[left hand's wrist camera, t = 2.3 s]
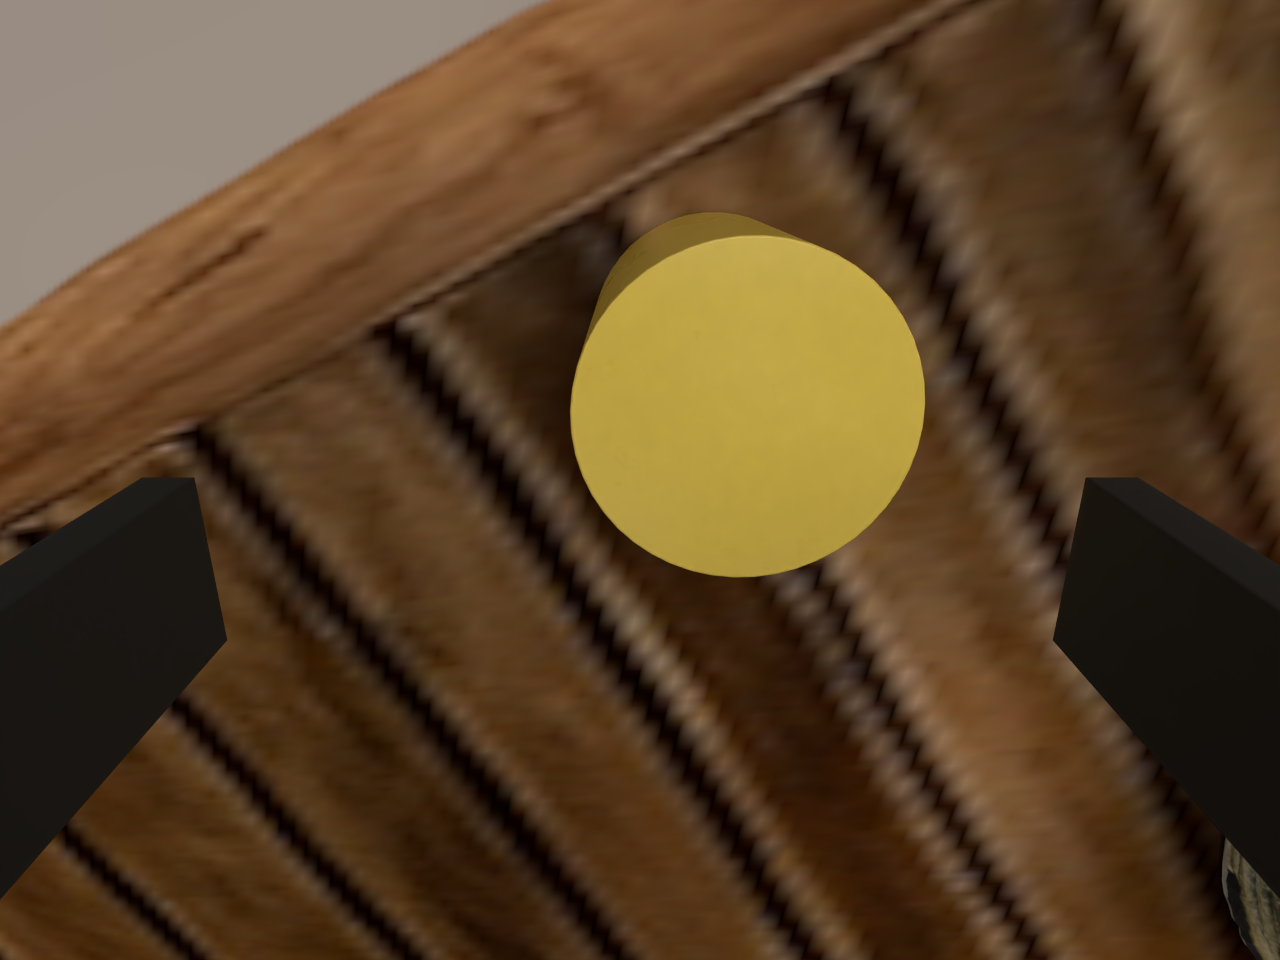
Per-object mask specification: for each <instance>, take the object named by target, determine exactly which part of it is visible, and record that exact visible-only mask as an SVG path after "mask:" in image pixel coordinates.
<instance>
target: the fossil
mask: <svg viewBox="0 0 1280 960" xmlns="http://www.w3.org/2000/svg"><path fill="white" fill-rule="evenodd" d="M1222 884H1223V891H1224V895H1225V897H1226V900H1227V902H1228V904H1229V908H1230V912H1231V916H1232V918H1233V919H1234V921H1235V922H1236V924H1237V925H1238V926H1239V933H1240V936H1241V938H1242V940H1243V942H1244V943H1245V945H1246V946H1247V947H1248V949H1249V950H1250V951H1251V953H1252V954H1253V955H1254V957H1255V958H1256V960H1280V899H1279V898H1278V897H1277V896H1276V894H1275V893H1274V892H1273V891H1272V890H1271V889H1270V888H1269V886H1268V885H1267V884H1266V883H1265V882H1264V881H1263V880H1262V878H1261V877H1260V876H1259V875H1258V874H1257V873H1256V872H1255V870H1254V869H1253V868H1252V867H1251V866H1250V865H1249V864H1248V862H1247V861H1246V860H1245V859H1244V858H1243V857H1242V856H1241V854H1240V853H1239V852H1238V851H1237V850H1236V849H1235V848H1234V846H1233V845H1232V844H1231V843H1230V842H1229V841H1228V840H1227V838H1226V839H1225V846H1224V854H1223V862H1222Z"/></svg>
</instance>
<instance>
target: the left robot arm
mask: <svg viewBox="0 0 1280 960" xmlns="http://www.w3.org/2000/svg"><path fill="white" fill-rule="evenodd" d="M226 641H227V637H226V632H225V627H224V622H223V617H222V612H221V608H220V603H219V598H218V593H217V588H216V583H215V578H214V573H213V568H212V563H211V558H210V553H209V548H208V543H207V538H206V533H205V528H204V523H203V519H202V514H201V509H200V504H199V499H198V494H197V489H196V484H195V479H194V478H141V479H139V480H138V481H136V482H134V483H133V484H131V485H130V486H128V487H126V488H125V489H123V490H122V491H120V492H118V493H117V494H115V495H113V496H112V497H110V498H109V499H107V500H105V501H104V502H102V503H101V504H99V505H97V506H96V507H94V508H93V509H91V510H89V511H88V512H86V513H84V514H83V515H81V516H80V517H78V518H76V519H75V520H73V521H72V522H70V523H68V524H67V525H65V526H64V527H62V528H60V529H59V530H57V531H55V532H54V533H52V534H51V535H49V536H47V537H46V538H44V539H43V540H41V541H39V542H38V543H36V544H35V545H33V546H31V547H30V548H28V549H26V550H25V551H23V552H22V553H20V554H18V555H17V556H15V557H14V558H12V559H10V560H9V561H7V562H6V563H4V564H2V565H1V566H0V899H1V898H2V897H3V896H4V894H5V893H6V892H7V891H8V890H9V889H10V888H11V886H12V885H13V884H14V883H15V882H16V881H17V880H18V878H19V877H20V876H21V875H22V874H23V873H24V872H25V870H26V869H27V868H28V867H29V866H30V865H31V864H32V862H33V861H34V860H35V859H36V858H37V857H38V856H39V854H40V853H41V852H42V851H43V850H44V849H45V848H46V846H47V845H48V844H49V843H50V842H51V841H52V840H53V838H54V837H55V836H56V835H57V834H58V833H59V832H60V830H61V829H62V828H63V827H64V826H65V825H66V824H67V822H68V821H69V820H70V819H71V818H72V817H73V816H74V814H75V813H76V812H77V811H78V810H79V809H80V808H81V806H82V805H83V804H84V803H85V802H86V801H87V800H88V798H89V797H90V796H91V795H92V794H93V793H94V792H95V790H96V789H97V788H98V787H99V786H100V785H101V784H102V782H103V781H104V780H105V779H106V778H107V777H108V776H109V774H110V773H111V772H112V771H113V770H114V769H115V768H116V767H117V765H118V764H119V763H120V762H121V761H122V760H123V759H124V757H125V756H126V755H127V754H128V753H129V752H130V751H131V749H132V748H133V747H134V746H135V745H136V744H137V743H138V741H139V740H140V739H141V738H142V737H143V736H144V735H145V733H146V732H147V731H148V730H149V729H150V728H151V727H152V725H153V724H154V723H155V722H156V721H157V720H158V719H159V717H160V716H161V715H162V714H163V713H164V712H165V711H166V709H167V708H168V707H169V706H170V705H171V704H172V703H173V701H174V700H175V699H176V698H177V697H178V696H179V695H180V693H181V692H182V691H183V690H184V689H185V688H186V687H187V685H188V684H189V683H190V682H191V681H192V680H193V679H194V677H195V676H196V675H197V674H198V673H199V672H200V671H201V669H202V668H203V667H204V666H205V665H206V664H207V663H208V661H209V660H210V659H211V658H212V657H213V656H214V655H215V653H216V652H217V651H218V650H219V649H220V648H221V647H222V645H223V644H224V643H225V642H226ZM1053 641H1054V642H1055V643H1056V644H1057V645H1058V647H1059V648H1060V649H1061V650H1062V651H1063V652H1064V653H1065V655H1066V656H1067V657H1068V658H1069V659H1070V660H1071V661H1072V663H1073V664H1074V665H1075V666H1076V667H1077V668H1078V669H1079V671H1080V672H1081V673H1082V674H1083V675H1084V676H1085V677H1086V679H1087V680H1088V681H1089V682H1090V683H1091V684H1092V685H1093V687H1094V688H1095V689H1096V690H1097V691H1098V692H1099V693H1100V695H1101V696H1102V697H1103V698H1104V699H1105V700H1106V701H1107V703H1108V704H1109V705H1110V706H1111V707H1112V708H1113V709H1114V711H1115V712H1116V713H1117V714H1118V715H1119V716H1120V717H1121V719H1122V720H1123V721H1124V722H1125V723H1126V724H1127V725H1128V727H1129V728H1130V729H1131V730H1132V731H1133V732H1134V733H1135V735H1136V736H1137V737H1138V738H1139V739H1140V740H1141V741H1142V743H1143V744H1144V745H1145V746H1146V747H1147V748H1148V749H1149V751H1150V752H1151V753H1152V754H1153V755H1154V756H1155V757H1156V759H1157V760H1158V761H1159V762H1160V763H1161V764H1162V765H1163V767H1164V768H1165V769H1166V770H1167V771H1168V772H1169V773H1170V774H1171V776H1172V777H1173V778H1174V779H1175V780H1176V781H1177V782H1178V784H1179V785H1180V786H1181V787H1182V788H1183V789H1184V790H1185V792H1186V793H1187V794H1188V795H1189V796H1190V797H1191V798H1192V800H1193V801H1194V802H1195V803H1196V804H1197V805H1198V806H1199V808H1200V809H1201V810H1202V811H1203V812H1204V813H1205V814H1206V816H1207V817H1208V818H1209V819H1210V820H1211V821H1212V822H1213V824H1214V825H1215V826H1216V827H1217V828H1218V829H1219V830H1220V832H1221V833H1222V834H1223V835H1224V836H1225V837H1226V838H1227V840H1228V841H1229V842H1230V843H1231V844H1232V845H1233V846H1234V848H1235V849H1236V850H1237V851H1238V852H1239V853H1240V854H1241V856H1242V857H1243V858H1244V859H1245V860H1246V861H1247V862H1248V864H1249V865H1250V866H1251V867H1252V868H1253V869H1254V870H1255V872H1256V873H1257V874H1258V875H1259V876H1260V877H1261V878H1262V880H1263V881H1264V882H1265V883H1266V884H1267V885H1268V886H1269V888H1270V889H1271V890H1272V891H1273V892H1274V893H1275V894H1276V896H1277V897H1278V898H1279V899H1280V566H1279V565H1278V564H1276V563H1274V562H1273V561H1271V560H1270V559H1268V558H1266V557H1265V556H1263V555H1262V554H1260V553H1258V552H1257V551H1255V550H1254V549H1252V548H1250V547H1249V546H1247V545H1245V544H1244V543H1242V542H1241V541H1239V540H1237V539H1236V538H1234V537H1233V536H1231V535H1229V534H1228V533H1226V532H1225V531H1223V530H1221V529H1220V528H1218V527H1216V526H1215V525H1213V524H1212V523H1210V522H1208V521H1207V520H1205V519H1204V518H1202V517H1200V516H1199V515H1197V514H1196V513H1194V512H1192V511H1191V510H1189V509H1187V508H1186V507H1184V506H1183V505H1181V504H1179V503H1178V502H1176V501H1175V500H1173V499H1171V498H1170V497H1168V496H1167V495H1165V494H1163V493H1162V492H1160V491H1158V490H1157V489H1155V488H1154V487H1152V486H1150V485H1149V484H1147V483H1146V482H1144V481H1142V480H1141V479H1139V478H1086V479H1085V484H1084V489H1083V494H1082V499H1081V504H1080V509H1079V514H1078V519H1077V523H1076V528H1075V533H1074V538H1073V543H1072V548H1071V553H1070V558H1069V563H1068V568H1067V573H1066V578H1065V583H1064V588H1063V593H1062V598H1061V603H1060V608H1059V612H1058V617H1057V622H1056V627H1055V632H1054V637H1053Z"/></svg>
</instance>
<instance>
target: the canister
mask: <svg viewBox="0 0 1280 960" xmlns="http://www.w3.org/2000/svg"><path fill="white" fill-rule="evenodd" d="M924 409H925V389H924V377H923V371H922V366H921V360H920V356H919V353H918V350H917V347H916V344H915V341H914V338H913V336H912V334H911V332H910V330H909V328H908V326H907V323H906V321H905V319H904V317H903V316H902V314H901V313H900V311H899V310H898V308H897V307H896V306H895V304H894V303H893V301H892V300H891V298H890V297H889V296H888V295H887V294H886V293H885V292H884V291H883V289H882V288H881V287H880V286H879V285H878V284H877V283H876V282H875V281H874V280H873V279H872V278H871V277H869V276H868V275H867V274H866V273H864V272H863V271H862V270H861V269H859V268H858V267H857V266H856V265H854V264H852V263H851V262H849V261H847V260H846V259H844V258H842V257H841V256H839V255H837V254H836V253H833V252H831V251H829V250H826V249H824V248H821V247H819V246H817V245H814V244H812V243H809V242H807V241H805V240H802V239H800V238H797V237H795V236H792V235H790V234H788V233H785V232H783V231H780V230H778V229H776V228H773V227H771V226H768V225H766V224H764V223H761V222H759V221H756V220H754V219H751V218H748V217H745V216H741V215H737V214H731V213H722V212H703V213H696V214H690V215H685V216H682V217H679V218H676V219H672V220H670V221H668V222H666V223H663V224H661V225H659V226H657V227H655V228H654V229H652V230H650V231H649V232H647V233H646V234H644V235H643V236H642V237H640V238H639V239H638V240H637V241H636V242H634V243H633V244H632V245H631V246H630V247H629V248H628V249H627V250H626V251H625V252H624V253H623V255H622V256H621V257H620V258H619V260H618V261H617V262H616V264H615V265H614V267H613V268H612V269H611V271H610V273H609V275H608V277H607V279H606V281H605V283H604V285H603V288H602V290H601V293H600V296H599V299H598V302H597V305H596V308H595V311H594V314H593V317H592V321H591V324H590V327H589V330H588V333H587V336H586V339H585V343H584V346H583V349H582V352H581V355H580V358H579V361H578V365H577V368H576V373H575V377H574V382H573V386H572V395H571V407H570V418H571V434H572V440H573V445H574V450H575V455H576V458H577V461H578V464H579V467H580V470H581V473H582V476H583V478H584V480H585V482H586V484H587V486H588V488H589V490H590V492H591V494H592V496H593V497H594V499H595V500H596V502H597V503H598V505H599V506H600V508H601V509H602V511H603V512H604V513H605V514H606V516H607V517H608V518H609V519H610V520H611V521H612V522H613V523H614V525H615V526H616V527H617V528H618V529H619V530H620V531H621V532H623V533H624V534H625V535H626V536H627V537H628V538H630V539H631V540H632V541H633V542H634V543H636V544H637V545H639V546H640V547H642V548H643V549H645V550H646V551H648V552H649V553H651V554H653V555H655V556H657V557H659V558H661V559H663V560H665V561H667V562H669V563H671V564H674V565H676V566H679V567H682V568H685V569H688V570H691V571H695V572H700V573H704V574H709V575H716V576H726V577H756V576H763V575H770V574H777V573H781V572H784V571H788V570H792V569H796V568H799V567H801V566H804V565H807V564H809V563H812V562H814V561H817V560H819V559H821V558H823V557H825V556H827V555H828V554H830V553H832V552H834V551H836V550H838V549H839V548H841V547H842V546H843V545H845V544H846V543H848V542H849V541H851V540H852V539H854V538H855V537H856V536H857V535H858V534H860V533H861V532H862V531H863V530H864V529H865V528H867V527H868V526H869V525H870V524H871V523H872V522H873V521H874V520H875V519H876V518H877V516H878V515H879V514H880V513H881V512H882V511H883V510H884V509H885V508H886V506H887V505H888V504H889V502H890V501H891V499H892V498H893V496H894V495H895V494H896V492H897V491H898V489H899V488H900V486H901V484H902V482H903V480H904V478H905V476H906V475H907V473H908V471H909V469H910V466H911V464H912V461H913V458H914V456H915V453H916V451H917V448H918V444H919V440H920V435H921V431H922V427H923V418H924Z"/></svg>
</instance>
